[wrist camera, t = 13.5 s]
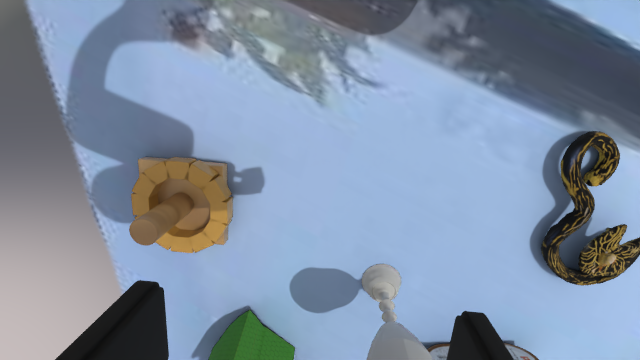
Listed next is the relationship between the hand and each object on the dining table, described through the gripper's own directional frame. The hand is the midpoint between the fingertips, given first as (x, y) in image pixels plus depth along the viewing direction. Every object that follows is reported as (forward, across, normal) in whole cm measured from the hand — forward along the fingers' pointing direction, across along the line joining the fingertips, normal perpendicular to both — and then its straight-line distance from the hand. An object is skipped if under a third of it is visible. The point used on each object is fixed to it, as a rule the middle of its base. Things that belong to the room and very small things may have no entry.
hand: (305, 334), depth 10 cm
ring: (+27, +16, +7) cm, 32 cm away
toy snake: (+28, -30, +4) cm, 42 cm away
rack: (+28, +17, +7) cm, 34 cm away
